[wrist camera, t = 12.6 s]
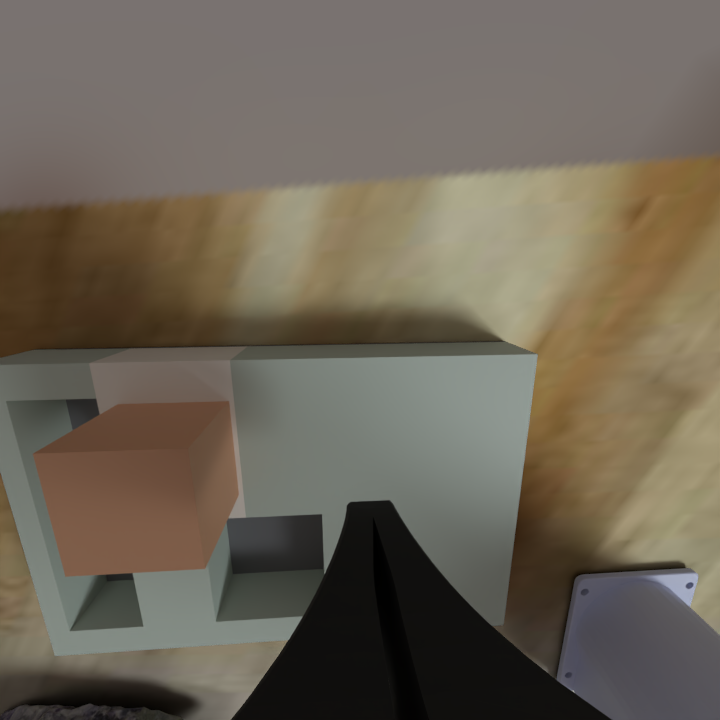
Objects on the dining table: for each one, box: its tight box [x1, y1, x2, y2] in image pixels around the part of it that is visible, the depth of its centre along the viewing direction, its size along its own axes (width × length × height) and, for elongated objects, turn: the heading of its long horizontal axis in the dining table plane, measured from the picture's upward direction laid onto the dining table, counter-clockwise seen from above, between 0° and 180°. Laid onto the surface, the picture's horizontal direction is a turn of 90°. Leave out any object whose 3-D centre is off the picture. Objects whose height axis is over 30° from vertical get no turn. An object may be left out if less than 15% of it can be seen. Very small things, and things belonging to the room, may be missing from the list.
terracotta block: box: [33, 401, 239, 577], centre depth 13 cm, size 4×4×4 cm
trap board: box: [0, 341, 538, 656], centre depth 17 cm, size 15×23×3 cm, turn 90°
